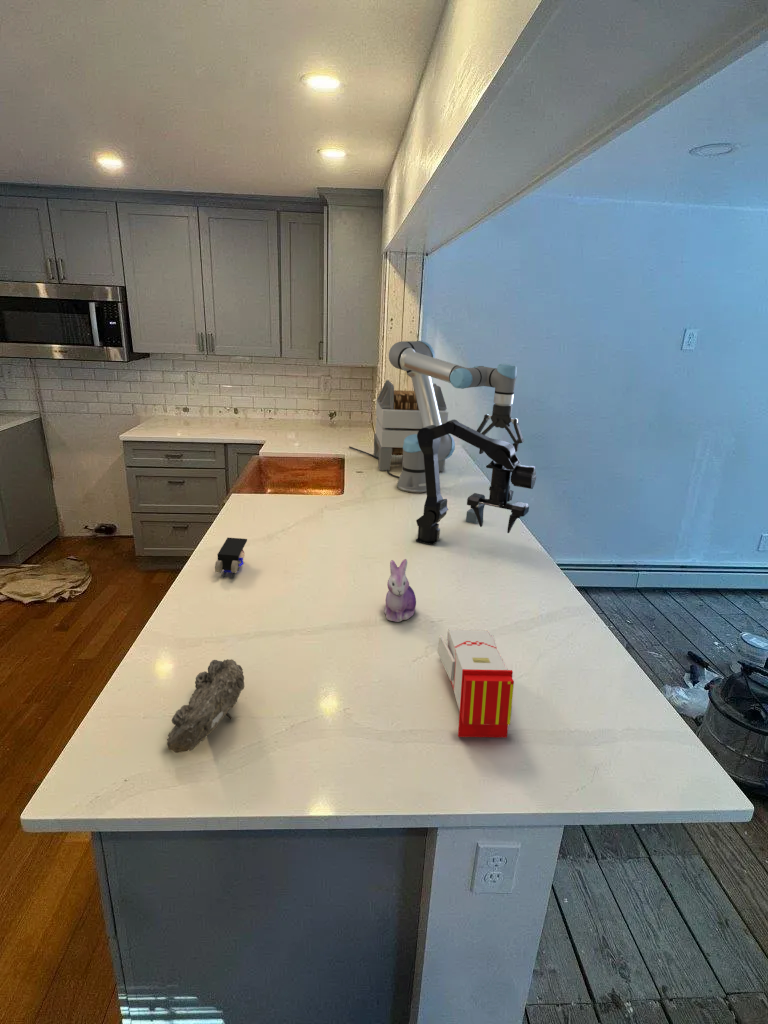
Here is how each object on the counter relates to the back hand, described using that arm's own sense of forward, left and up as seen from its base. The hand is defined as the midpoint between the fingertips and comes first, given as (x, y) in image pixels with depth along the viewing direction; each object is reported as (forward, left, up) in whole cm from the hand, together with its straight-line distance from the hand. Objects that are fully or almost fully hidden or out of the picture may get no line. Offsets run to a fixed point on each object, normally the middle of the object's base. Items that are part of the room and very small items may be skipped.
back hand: (496, 456), depth 233 cm
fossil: (+87, -133, -19) cm, 160 cm away
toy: (+101, -83, -19) cm, 132 cm away
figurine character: (+25, -115, -19) cm, 119 cm away
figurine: (+67, -81, -19) cm, 107 cm away
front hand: (+46, -35, -10) cm, 59 cm away
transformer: (-66, -3, -19) cm, 69 cm away
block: (+17, -22, -19) cm, 34 cm away
